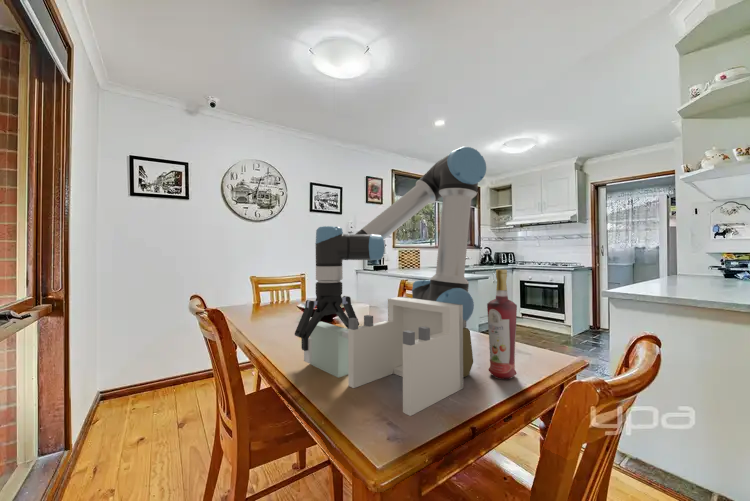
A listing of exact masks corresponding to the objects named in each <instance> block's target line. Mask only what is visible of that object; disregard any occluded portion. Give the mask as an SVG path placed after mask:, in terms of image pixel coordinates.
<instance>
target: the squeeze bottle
mask: <svg viewBox="0 0 750 501" xmlns="http://www.w3.org/2000/svg"><path fill="white" fill-rule="evenodd" d="M471 337H472V336H471V331H470V329H469V328H467V321H466V320H463V378H465V377H467V376H469V375H470V374H471V370H472V368H473V364H474V356H473V355H474V354H473V347H472V345H473V344H472V338H471Z"/></svg>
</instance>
